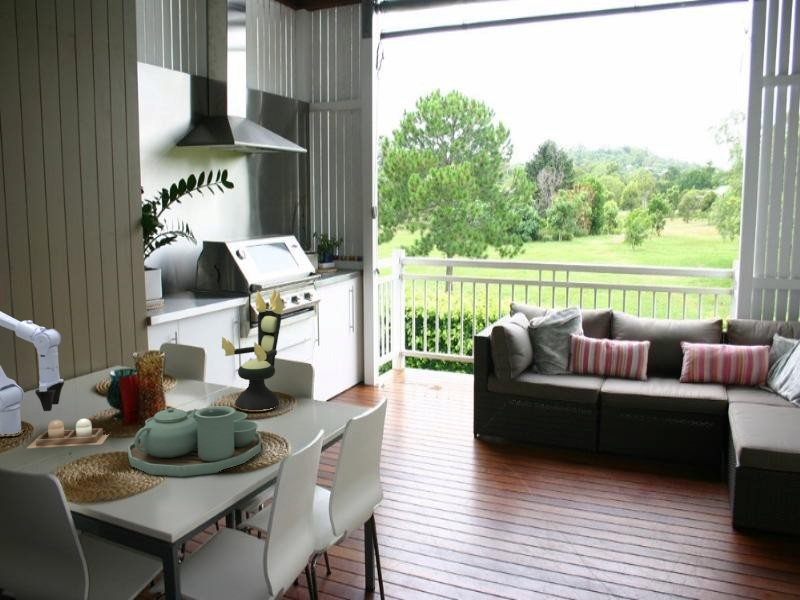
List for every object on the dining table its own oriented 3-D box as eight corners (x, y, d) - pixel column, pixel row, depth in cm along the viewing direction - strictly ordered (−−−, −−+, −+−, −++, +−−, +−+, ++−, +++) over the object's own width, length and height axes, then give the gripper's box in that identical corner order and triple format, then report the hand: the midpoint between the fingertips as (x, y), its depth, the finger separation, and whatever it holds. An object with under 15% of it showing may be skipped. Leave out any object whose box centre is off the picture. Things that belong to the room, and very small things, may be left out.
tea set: (282, 439, 219) (281, 390, 217) (218, 485, 181) (216, 427, 179) (178, 428, 230) (176, 381, 228) (96, 469, 192) (93, 414, 190)
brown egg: (46, 443, 211) (45, 422, 210) (51, 438, 215) (50, 418, 214) (62, 442, 212) (61, 421, 211) (66, 437, 216) (65, 417, 215)
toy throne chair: (221, 408, 252) (218, 291, 246) (262, 395, 271) (260, 286, 265) (257, 417, 242) (255, 295, 236) (297, 403, 261) (296, 289, 255)
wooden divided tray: (26, 450, 206) (26, 442, 206) (40, 436, 218) (39, 429, 218) (101, 446, 210) (101, 438, 210) (111, 433, 223) (110, 426, 222)
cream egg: (74, 441, 212) (73, 421, 212) (78, 436, 217) (77, 417, 216) (90, 440, 213) (89, 420, 212) (93, 436, 218) (92, 416, 217)
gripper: (55, 371, 210) (57, 413, 211) (68, 361, 224) (70, 400, 225) (31, 372, 208) (33, 414, 210) (45, 362, 222) (48, 401, 224)
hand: (51, 407), depth 218 cm, fingers open, 7 cm apart
